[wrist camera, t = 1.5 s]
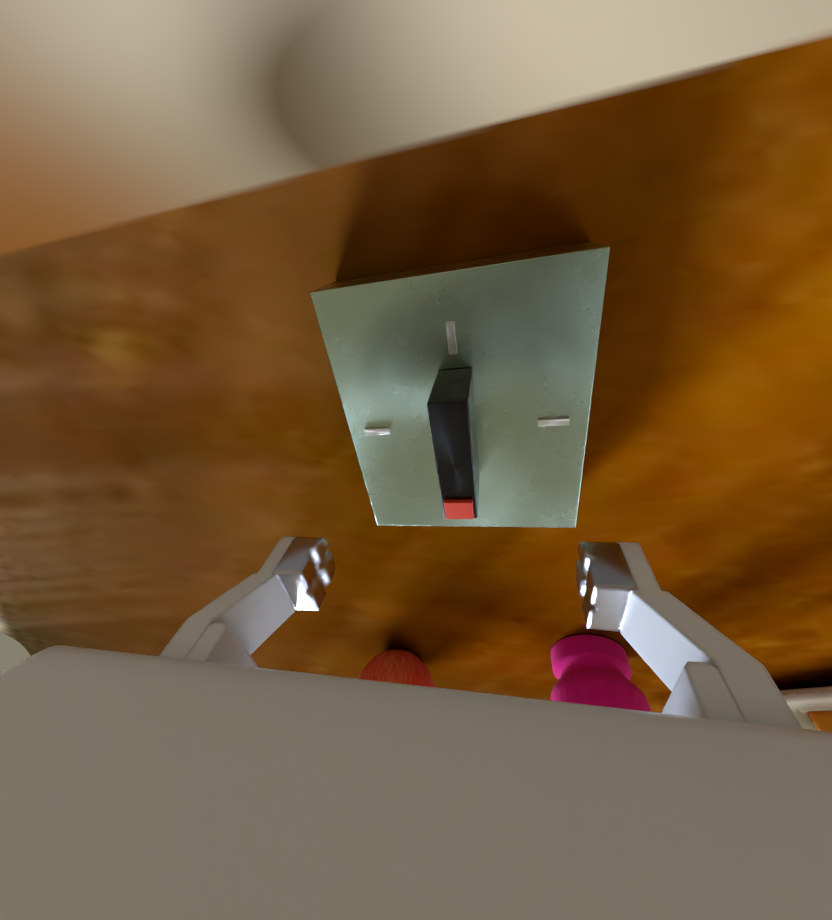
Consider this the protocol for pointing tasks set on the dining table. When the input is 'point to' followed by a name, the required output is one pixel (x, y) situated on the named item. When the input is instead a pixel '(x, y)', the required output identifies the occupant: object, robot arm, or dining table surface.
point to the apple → (397, 669)
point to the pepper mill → (594, 674)
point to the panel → (494, 377)
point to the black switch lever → (455, 442)
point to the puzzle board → (811, 707)
